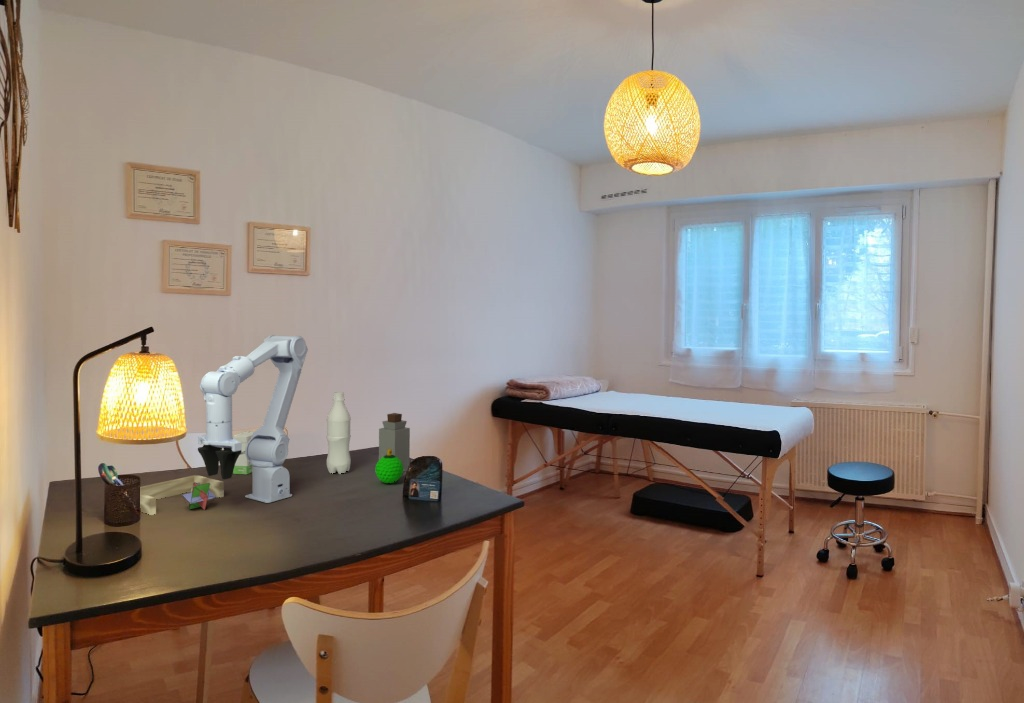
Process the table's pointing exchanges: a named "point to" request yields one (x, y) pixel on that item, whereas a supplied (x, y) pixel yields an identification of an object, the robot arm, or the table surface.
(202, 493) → the geometric puzzle
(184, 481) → the beige piece
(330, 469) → the water bottle
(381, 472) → the ornament
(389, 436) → the perfume bottle
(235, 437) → the ink box
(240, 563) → the table surface
